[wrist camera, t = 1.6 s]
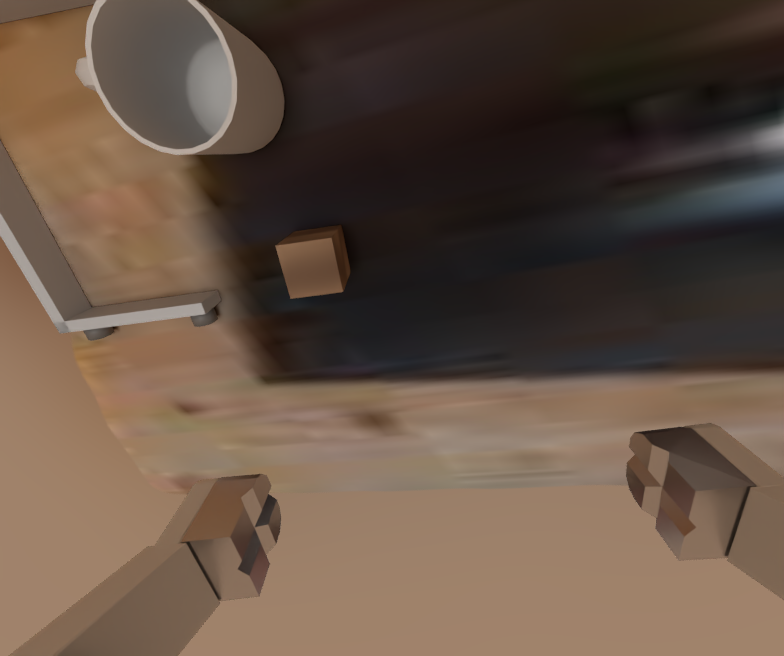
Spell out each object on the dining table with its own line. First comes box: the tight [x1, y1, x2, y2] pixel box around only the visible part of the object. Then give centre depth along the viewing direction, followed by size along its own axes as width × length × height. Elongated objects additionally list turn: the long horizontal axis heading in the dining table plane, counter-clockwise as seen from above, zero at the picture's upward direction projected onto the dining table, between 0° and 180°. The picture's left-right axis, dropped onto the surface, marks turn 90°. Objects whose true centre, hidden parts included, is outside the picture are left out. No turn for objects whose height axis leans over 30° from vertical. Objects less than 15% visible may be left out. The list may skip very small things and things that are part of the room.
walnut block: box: [276, 225, 351, 299], centre depth 28 cm, size 4×4×5 cm
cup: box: [75, 0, 284, 155], centre depth 22 cm, size 7×10×9 cm
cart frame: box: [0, 0, 221, 340], centre depth 27 cm, size 25×13×3 cm, turn 8°
